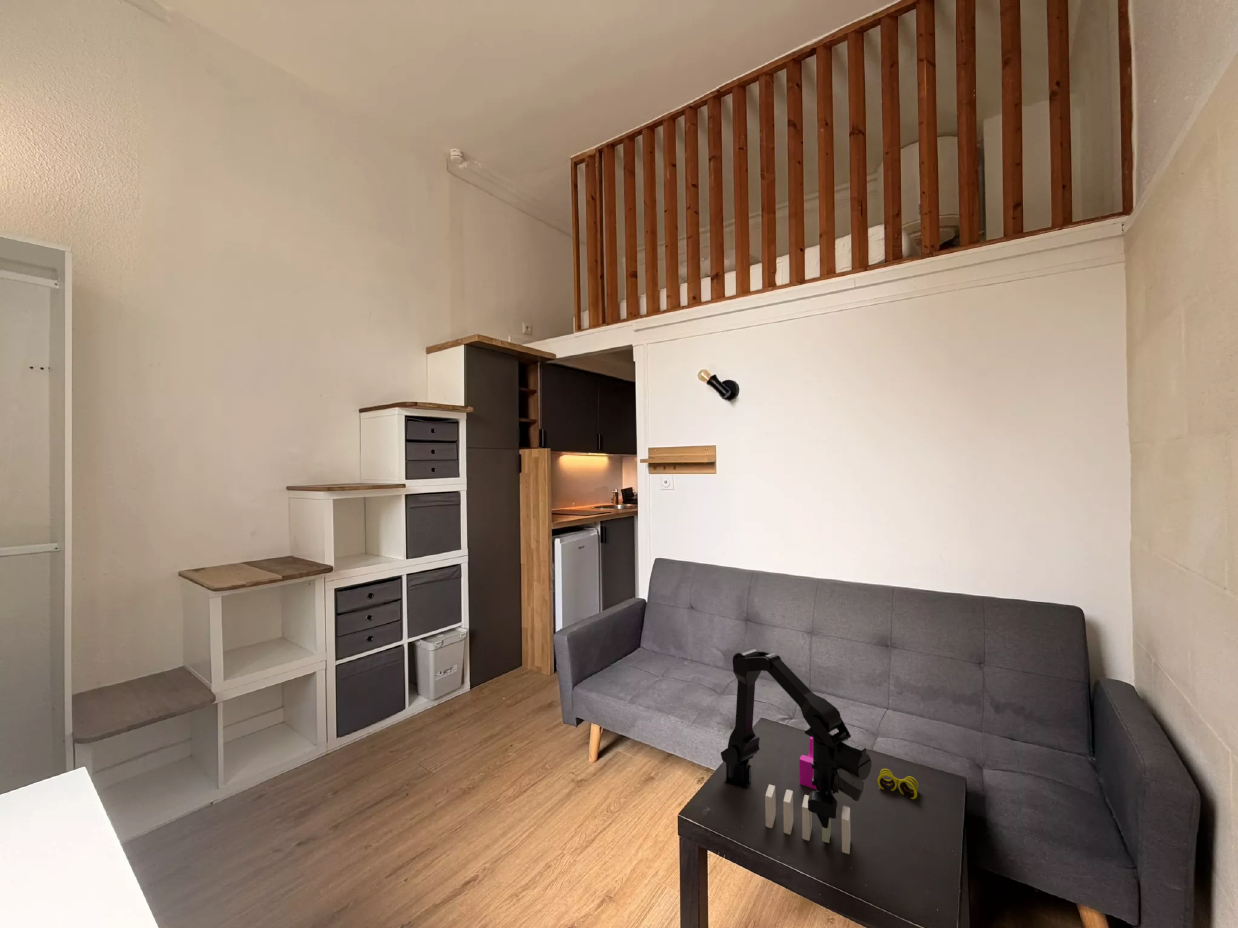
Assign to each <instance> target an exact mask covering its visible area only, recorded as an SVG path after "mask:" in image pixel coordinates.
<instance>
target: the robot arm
mask: <svg viewBox="0 0 1238 928" xmlns="http://www.w3.org/2000/svg"><path fill="white" fill-rule="evenodd" d="M732 671H733V674H734V676H735V679H736V680H737V685H736V686H737V687H736V690H737V691H736V704H735V705H736V706H735V707H736V708H735V723H734V728H733V730H732V732H731V733H730V735H729V737H728V741H727V742H728V744H727V748H725V749H723V750H722V751H721V752H720V756H721V760H722V761H723V762H724V763H725V778H724V783H725V784H728V785H731V786H734V787H738V788H740V789H744V790H745V789H747V788H748V785H750V783H751V782H752V765H751V764H750V760H751V759H753V758H754V756H755V755H756V754H757V753H758V751H760V740H761V739H760V738H761V737H760V736H758V735H757V734H756V733H755V731H754V729H753V724H754V710H755V709H754V707H755V695H756V694H755V692H756V691H755V690H756V682H757V679H758V678H759V676H760V674H761V672H762V671H763V672H767V673H768V674H769V675H770V676H771V678H772V679H774V681H776V682H777V684H778V685H779V687H781V688H782V689H783V690H784V691H785V692H786V694H787V695H788V696H789V697H790V698H791V699H792V701H794V702H795V703H796V704H797V705H798V707H799V708H800V710H801V714H802V718H803V719H804V721H805V722H806V724H808V726H809V728H808V729H806V730H804V734H805V735H807V736H808V737H812V738H813V761H812V768H813V779H812V785H814V786H816V789H815V790H812V791H810V792H809V793H808V794H809V795H808V796H809V798H808V810H809V811H810V812H812V813H814V814H816V816H817V818H818V820H819V822H820V824H821V828H822V827H824V828H828V823H829V818H831V819H833V820H834V819H837V816H838V815H837V814H838V807H839V806H838V800H837V799H836V797H835V796H834V795H835V794H839V792H842V793H843V794H845V795H846V796H848V798H849V797H850V798H851V799H852V800H853V801H855V802H859V801H860V798H861V796H862V795H863V792H864V788H865V787H864V784H865V783H864V781H865V780H866V779H867V778H868V777H869V775H870V773H871V770H872V764H873V762H872V759H871V757H870V754H868V753H867V748H866V747H864V746H861V745H859V744H856V743H853V742H852V741H850V740H849V739H850V738H851V737H852V735H851V733H850V732H849V730H848V728H847V725H846V724H845V722H844V721H843V719H842V718H843V717H841V713H840V711H839V710H838V708H837V707H835V706H834V705H833V704H832V703H831V702H830V701H828V700H827V699H826V698H824V697H822V696H819V695H817V694H815V693H814V692H813V691H812V690H811V689H810V688H808V686H807V685H806V684H805V683H804V682H803V681H802V680H801V679H800V678H799V677H798V676H797V675H796V674H795V673H794V672H793V671H792V670H791V668H789V666H787V665H786V664H785V662H783V660H782V658H781V656H780V655H779V654H777V653H774V652H768V651H761V650H759V651H758V650H757V649H756V648H748V649H745V650H743V651H738V652H737V653H735V654H733V656H732ZM835 730H837V732H836V733H834V734H832V733H831V732H833V731H835Z"/></svg>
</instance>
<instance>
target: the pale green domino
mask: <svg viewBox="0 0 1238 928" xmlns="http://www.w3.org/2000/svg"><path fill="white" fill-rule="evenodd" d="M831 831H832V818H829V823H828V828H824V827H822V826H821V841H822V842H825V843H828V844H830V840H831Z"/></svg>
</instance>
